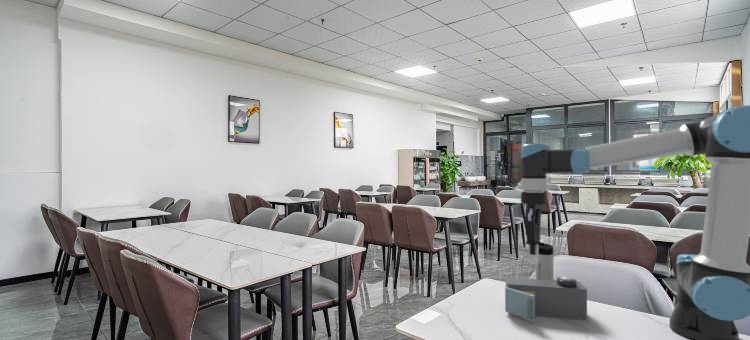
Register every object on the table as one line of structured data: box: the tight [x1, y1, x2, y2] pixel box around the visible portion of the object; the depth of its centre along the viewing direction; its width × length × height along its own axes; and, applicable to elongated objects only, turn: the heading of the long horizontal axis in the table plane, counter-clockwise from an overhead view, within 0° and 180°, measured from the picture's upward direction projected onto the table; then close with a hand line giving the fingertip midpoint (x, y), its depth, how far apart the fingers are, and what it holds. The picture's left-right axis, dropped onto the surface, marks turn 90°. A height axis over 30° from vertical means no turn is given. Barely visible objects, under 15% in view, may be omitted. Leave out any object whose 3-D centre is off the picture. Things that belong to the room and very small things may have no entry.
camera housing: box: [505, 276, 588, 321], centre depth 123 cm, size 24×8×12 cm, turn 75°
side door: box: [504, 286, 536, 322], centre depth 117 cm, size 10×2×8 cm, turn 35°
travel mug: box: [534, 242, 554, 280], centre depth 137 cm, size 6×7×20 cm
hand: (533, 263), depth 117 cm, fingers closed
